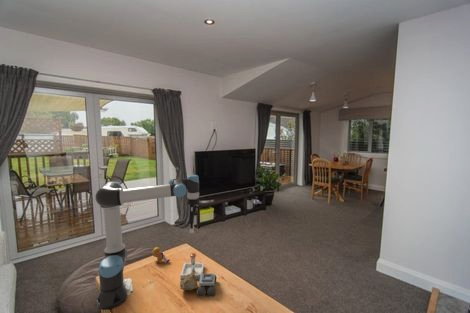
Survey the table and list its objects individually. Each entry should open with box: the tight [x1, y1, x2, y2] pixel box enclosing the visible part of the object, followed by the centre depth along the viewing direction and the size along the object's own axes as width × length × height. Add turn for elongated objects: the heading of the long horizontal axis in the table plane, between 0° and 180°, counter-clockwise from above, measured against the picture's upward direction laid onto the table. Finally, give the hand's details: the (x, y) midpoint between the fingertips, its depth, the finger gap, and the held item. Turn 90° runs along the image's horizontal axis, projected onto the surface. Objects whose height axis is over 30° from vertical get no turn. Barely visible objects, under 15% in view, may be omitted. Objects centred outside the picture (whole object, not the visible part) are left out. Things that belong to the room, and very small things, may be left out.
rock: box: [179, 272, 198, 291], centre depth 136 cm, size 12×10×10 cm
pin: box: [189, 252, 197, 273], centre depth 152 cm, size 4×4×12 cm
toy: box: [152, 246, 171, 264], centre depth 164 cm, size 14×8×15 cm
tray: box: [179, 262, 205, 281], centre depth 152 cm, size 14×14×3 cm
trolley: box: [196, 273, 217, 298], centre depth 137 cm, size 11×14×8 cm
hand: (193, 228), depth 151 cm, fingers open, 13 cm apart
